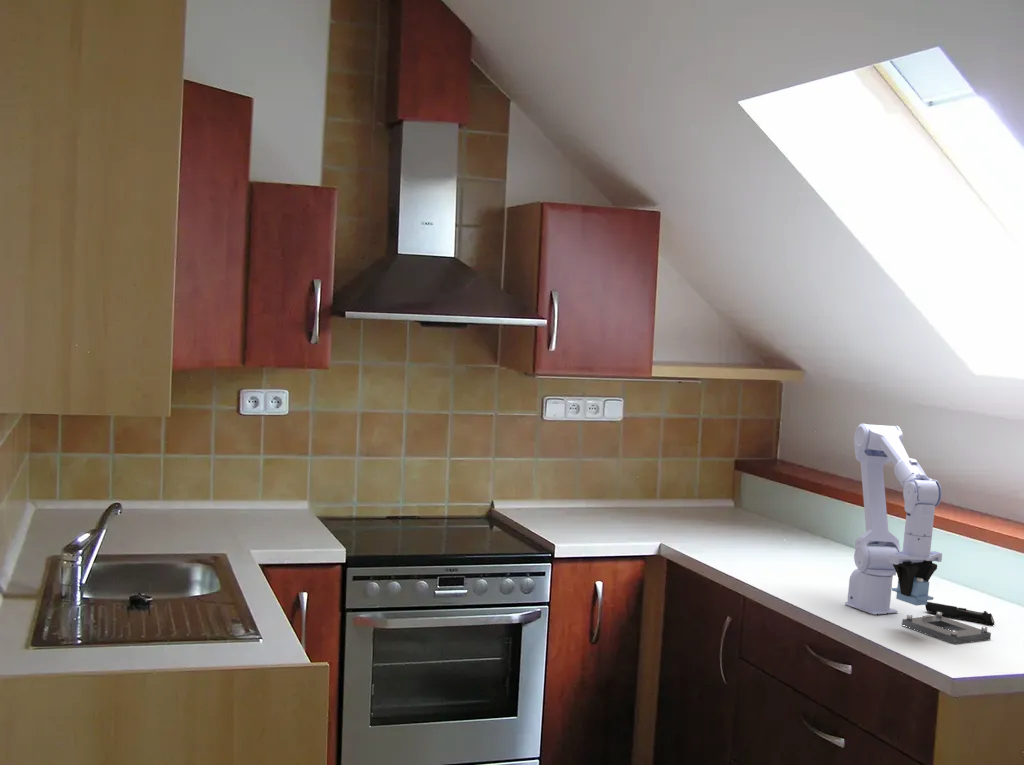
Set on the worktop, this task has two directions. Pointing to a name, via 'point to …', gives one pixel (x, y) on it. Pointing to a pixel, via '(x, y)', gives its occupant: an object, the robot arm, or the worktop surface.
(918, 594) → the servo
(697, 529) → the worktop surface
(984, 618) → the electric trimmer
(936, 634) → the plate
